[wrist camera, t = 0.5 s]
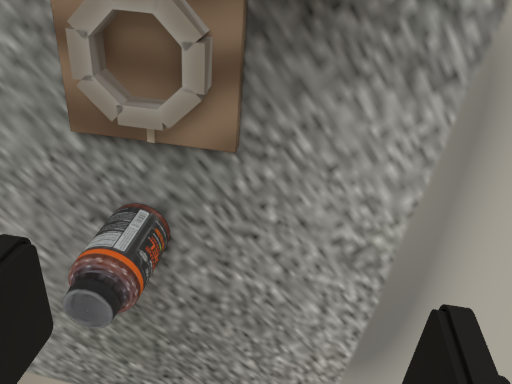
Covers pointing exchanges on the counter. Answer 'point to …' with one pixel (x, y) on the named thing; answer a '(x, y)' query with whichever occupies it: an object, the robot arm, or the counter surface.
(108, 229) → the supplement bottle
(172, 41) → the hub board
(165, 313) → the counter surface
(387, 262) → the counter surface
